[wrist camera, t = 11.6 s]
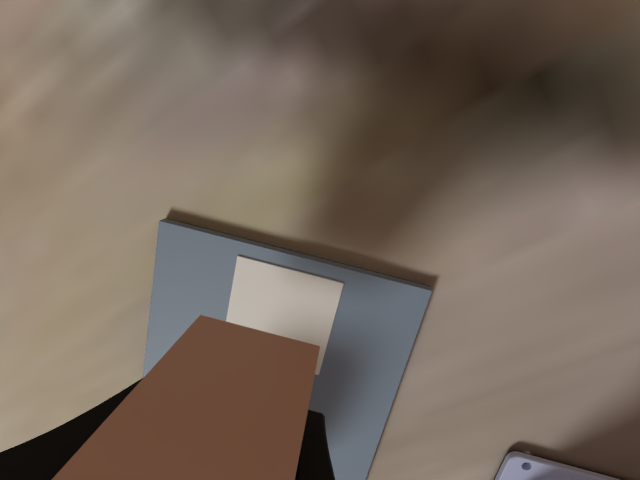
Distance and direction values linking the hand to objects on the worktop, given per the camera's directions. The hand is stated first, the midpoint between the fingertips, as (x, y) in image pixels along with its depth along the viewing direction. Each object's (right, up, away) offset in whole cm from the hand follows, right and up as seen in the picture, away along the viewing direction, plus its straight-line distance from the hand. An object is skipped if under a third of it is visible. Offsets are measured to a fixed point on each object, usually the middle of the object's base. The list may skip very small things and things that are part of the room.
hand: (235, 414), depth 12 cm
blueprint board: (0, -2, +9) cm, 9 cm away
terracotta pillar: (0, 0, +2) cm, 2 cm away
